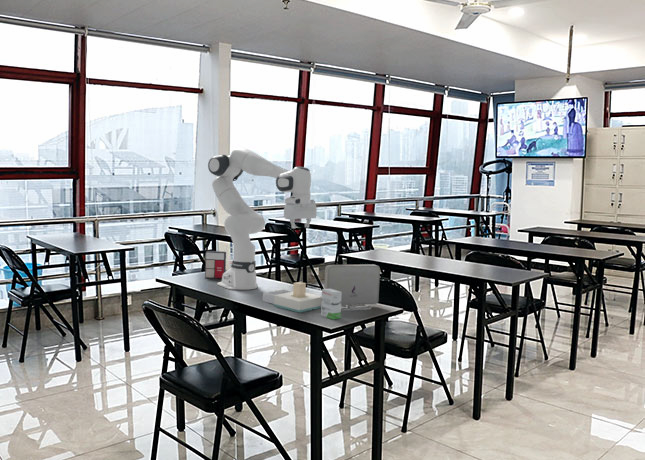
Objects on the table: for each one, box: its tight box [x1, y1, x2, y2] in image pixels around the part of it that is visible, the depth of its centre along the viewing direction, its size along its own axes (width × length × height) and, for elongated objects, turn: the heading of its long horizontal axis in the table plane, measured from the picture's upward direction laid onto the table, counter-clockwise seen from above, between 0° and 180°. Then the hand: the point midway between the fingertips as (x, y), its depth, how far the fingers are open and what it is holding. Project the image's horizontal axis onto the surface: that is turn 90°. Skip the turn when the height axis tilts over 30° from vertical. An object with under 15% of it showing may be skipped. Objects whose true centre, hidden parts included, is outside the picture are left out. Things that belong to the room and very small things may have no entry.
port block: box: [273, 292, 322, 313], centre depth 273 cm, size 16×16×5 cm
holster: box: [262, 288, 293, 305], centre depth 284 cm, size 8×14×4 cm, turn 138°
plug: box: [292, 281, 307, 298], centre depth 273 cm, size 4×4×10 cm
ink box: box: [320, 288, 342, 320], centre depth 256 cm, size 9×5×12 cm, turn 37°
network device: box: [323, 263, 381, 312], centre depth 274 cm, size 26×9×20 cm, turn 108°
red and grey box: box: [204, 250, 227, 280], centre depth 335 cm, size 11×4×15 cm, turn 88°
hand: (300, 227), depth 294 cm, fingers open, 8 cm apart
